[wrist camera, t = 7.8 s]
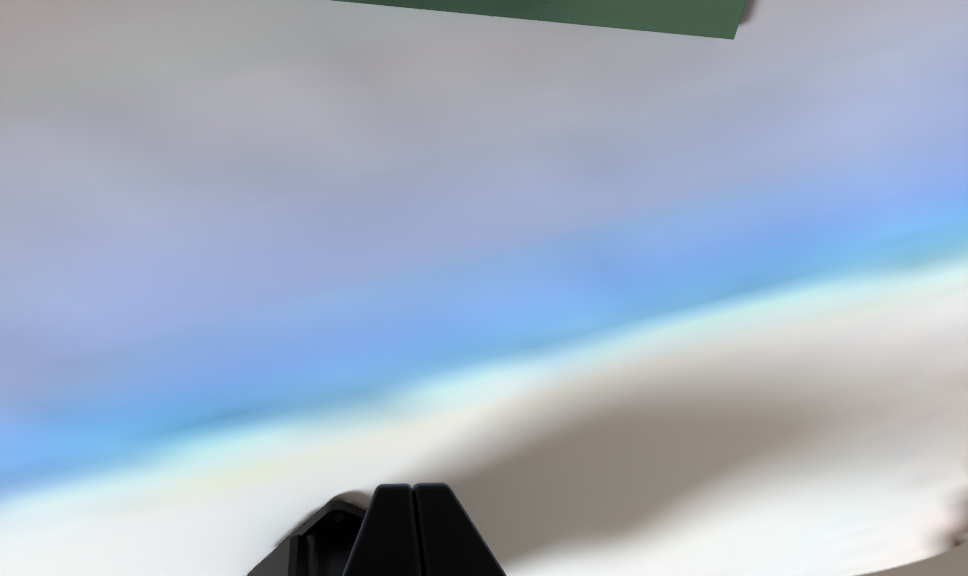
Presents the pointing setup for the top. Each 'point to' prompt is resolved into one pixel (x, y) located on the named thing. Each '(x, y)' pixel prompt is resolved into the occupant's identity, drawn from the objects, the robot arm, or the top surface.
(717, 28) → the green railed baseplate
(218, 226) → the top surface
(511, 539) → the top surface
